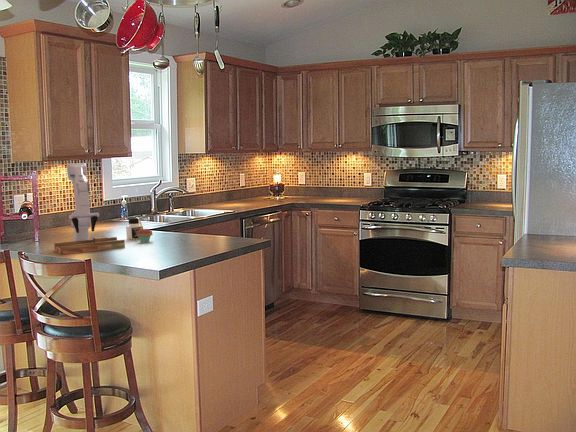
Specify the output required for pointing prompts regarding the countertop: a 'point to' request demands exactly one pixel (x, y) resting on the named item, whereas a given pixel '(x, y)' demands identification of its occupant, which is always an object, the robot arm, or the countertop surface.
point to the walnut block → (100, 239)
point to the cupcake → (144, 234)
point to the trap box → (88, 246)
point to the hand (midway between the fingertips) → (85, 231)
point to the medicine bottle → (133, 228)
